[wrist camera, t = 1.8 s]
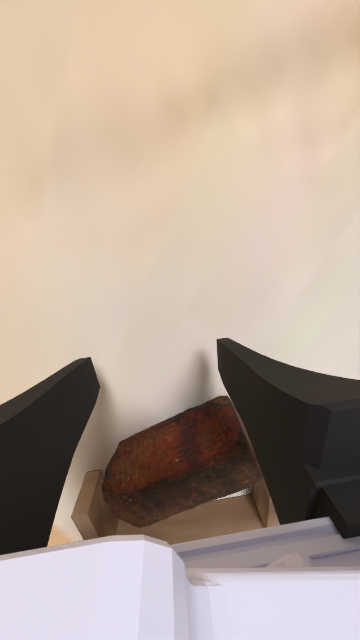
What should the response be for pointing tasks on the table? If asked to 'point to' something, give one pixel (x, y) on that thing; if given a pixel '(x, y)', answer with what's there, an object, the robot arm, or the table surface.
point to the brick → (180, 464)
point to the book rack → (175, 516)
